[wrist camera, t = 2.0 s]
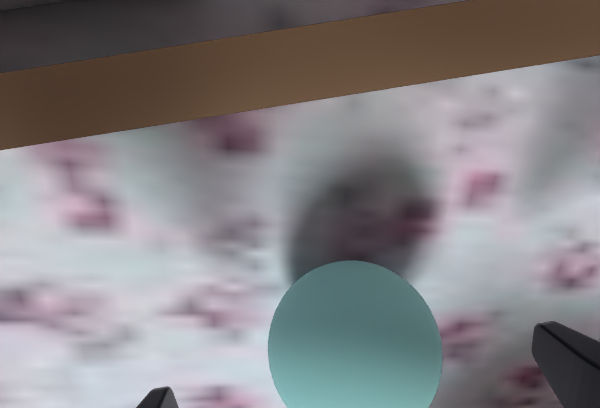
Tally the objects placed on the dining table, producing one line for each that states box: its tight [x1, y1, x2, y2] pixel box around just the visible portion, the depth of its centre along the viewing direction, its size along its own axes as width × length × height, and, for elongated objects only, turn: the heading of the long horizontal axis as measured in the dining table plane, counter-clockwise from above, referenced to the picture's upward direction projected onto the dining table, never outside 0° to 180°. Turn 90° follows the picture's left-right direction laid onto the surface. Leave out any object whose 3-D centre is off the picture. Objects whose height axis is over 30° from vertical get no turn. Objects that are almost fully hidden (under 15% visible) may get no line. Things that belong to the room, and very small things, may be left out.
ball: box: [268, 260, 443, 408], centre depth 10 cm, size 4×4×4 cm
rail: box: [0, 0, 600, 150], centre depth 8 cm, size 1×19×3 cm, turn 98°
